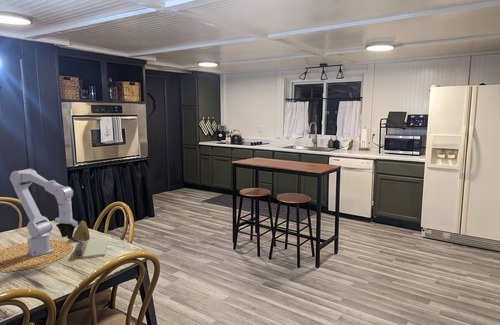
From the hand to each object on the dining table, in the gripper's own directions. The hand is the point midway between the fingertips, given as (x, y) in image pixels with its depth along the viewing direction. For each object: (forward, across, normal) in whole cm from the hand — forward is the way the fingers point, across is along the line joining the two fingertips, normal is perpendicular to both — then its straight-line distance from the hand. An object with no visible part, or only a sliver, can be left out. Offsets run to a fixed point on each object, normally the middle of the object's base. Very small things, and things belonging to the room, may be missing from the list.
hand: (67, 237), depth 173 cm
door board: (+9, +4, +10) cm, 15 cm away
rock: (+10, -15, +19) cm, 26 cm away
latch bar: (+8, +4, +4) cm, 10 cm away
